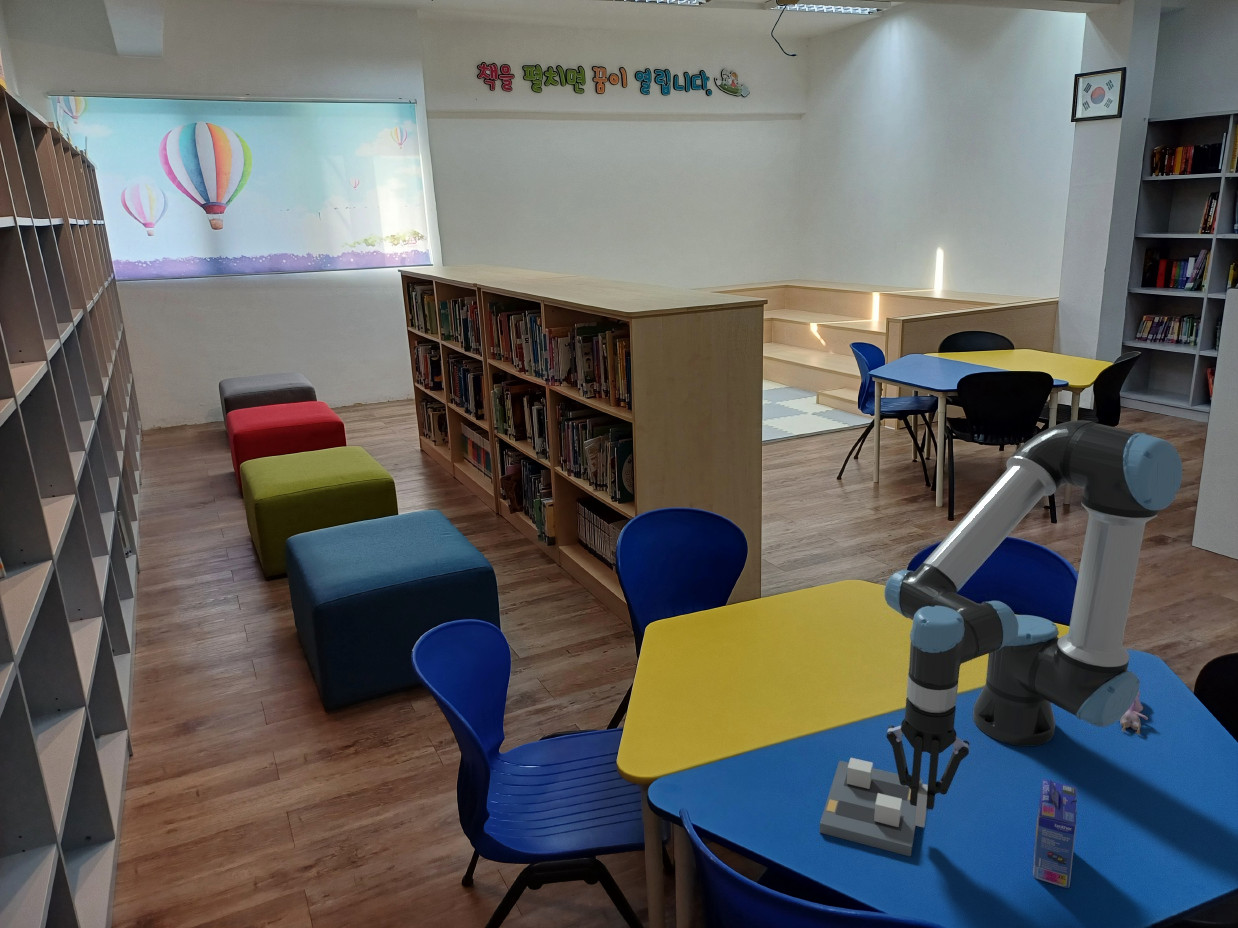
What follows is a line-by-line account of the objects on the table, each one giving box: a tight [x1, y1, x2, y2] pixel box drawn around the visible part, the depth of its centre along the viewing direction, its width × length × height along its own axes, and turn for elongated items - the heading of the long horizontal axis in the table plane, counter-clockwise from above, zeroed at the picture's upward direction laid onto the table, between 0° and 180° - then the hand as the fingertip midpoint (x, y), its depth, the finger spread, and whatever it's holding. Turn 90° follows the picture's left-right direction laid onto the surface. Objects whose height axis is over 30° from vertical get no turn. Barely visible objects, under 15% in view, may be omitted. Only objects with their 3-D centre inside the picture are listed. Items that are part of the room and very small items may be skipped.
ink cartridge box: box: [1032, 778, 1078, 889], centre depth 137 cm, size 10×6×14 cm, turn 153°
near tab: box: [874, 793, 902, 827], centre depth 146 cm, size 4×3×4 cm
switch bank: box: [819, 760, 924, 857], centre depth 152 cm, size 15×18×2 cm
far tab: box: [847, 757, 874, 789], centre depth 156 cm, size 4×3×4 cm
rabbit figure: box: [1119, 690, 1149, 735], centre depth 175 cm, size 6×6×15 cm
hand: (920, 820), depth 144 cm, fingers closed
